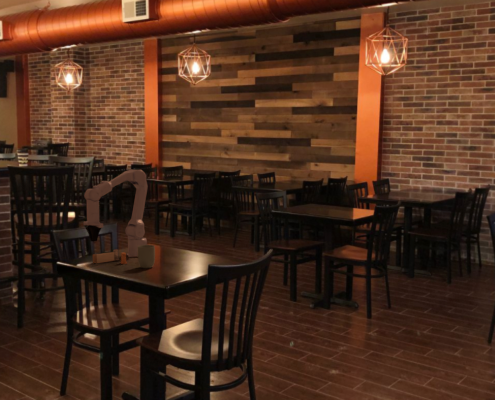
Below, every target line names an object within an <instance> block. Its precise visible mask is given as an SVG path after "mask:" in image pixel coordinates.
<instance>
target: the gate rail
mask: <svg viewBox="0 0 495 400" xmlns="http://www.w3.org/2000/svg"><path fill="white" fill-rule="evenodd" d="M113 261H114V262H115V260H114V252H113V251H111V252H104V253H97V254H96V253H94V254H92V264H94V263H96V264H100V263H101V264H102V263H108V262H113Z"/></svg>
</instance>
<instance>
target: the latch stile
mask: <svg viewBox="0 0 495 400" xmlns="http://www.w3.org/2000/svg"><path fill="white" fill-rule="evenodd" d="M126 254H127V252H120V260H121V261H120V264H121V265H126V264H127V265H128V262H127V255H126Z"/></svg>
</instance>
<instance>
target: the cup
mask: <svg viewBox="0 0 495 400" xmlns="http://www.w3.org/2000/svg"><path fill="white" fill-rule="evenodd" d="M155 247H156V246H155V245H153V244H147V245H140V246H138V247H137V254H138V256H137V263H138V265H139V266H138V267H140V268H141V269H152V268H153V267H154V265H155V263H156V262H155V260H156V248H155Z"/></svg>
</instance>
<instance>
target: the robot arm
mask: <svg viewBox="0 0 495 400" xmlns="http://www.w3.org/2000/svg"><path fill="white" fill-rule="evenodd" d="M124 182H129V183H130V184H132V185H133V186H134V188H135V196H134V202H133V208H132V214H131V218H130V220H129V221H128V223H127V226H126V227H125V230H124V232H125V235H126V236H127V249H128V250H127V253H126V257H128V258H134V257H136V258H138V254H137V247H138V246H140V245H148V242H147V241H148V240H147V238H146V237H144V236H145V233H146V230H145V223H144V221H143V217H144V212H145V206H146V205H145V204H146V199H147V193H148V189H149V188H148V187H149V186H148V182H147V174H146V172H145V171H144V170H142V169H128V170H125V171H123V172H121V174H119V175H117V176H116V177H114V178H113V179H111V180H110V181H108V180H102V181H100V183H99V184H96V185H93V186H92V188H87V189H86V191H85V192H84V195H83V196H84V199H85V200H86V221H83V226H86V227H85V229H86V232H87V235H88V236H89V237H88V238H89V240H90V242H93V243H95V242H98V239H99V238H98V237H99V236H100V235H99V234H100V231H101V230H102V229H103V228H104V223H102V222H100V203H99V202H100V199H101V197H103V196H105V195H107V194H109V193H111V192H112V190H113V188H115V186H119V185H120V184H122V183H124Z"/></svg>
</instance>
